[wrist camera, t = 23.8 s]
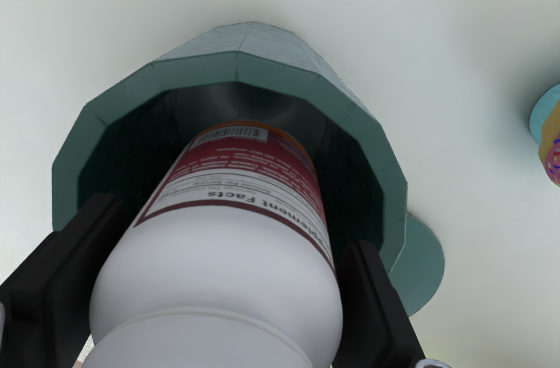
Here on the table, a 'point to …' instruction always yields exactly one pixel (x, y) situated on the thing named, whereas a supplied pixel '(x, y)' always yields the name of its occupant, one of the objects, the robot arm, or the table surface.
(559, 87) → the cupcake
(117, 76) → the table surface
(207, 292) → the pill bottle
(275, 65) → the tin
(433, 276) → the tin lid
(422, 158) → the table surface
